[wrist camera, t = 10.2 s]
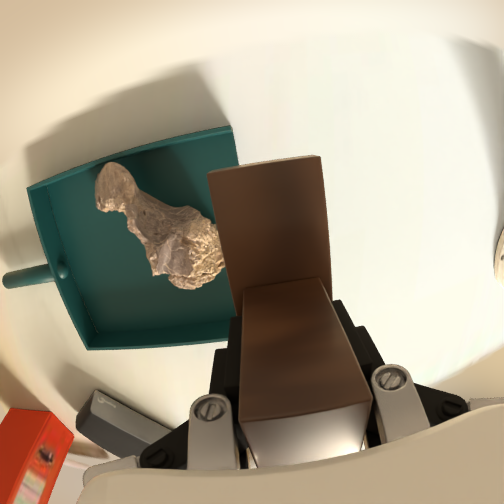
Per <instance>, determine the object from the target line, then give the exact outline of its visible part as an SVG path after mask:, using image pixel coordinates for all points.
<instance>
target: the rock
mask: <svg viewBox="0 0 504 504" xmlns="http://www.w3.org/2000/svg"><path fill="white" fill-rule="evenodd" d="M95 199H96V207H97V208H98V209H100V210H101V211H104V212H108V211H109V210H110V211H114V210H115V211H116V210H117V211H118V212H124V214H125V215H126V216H127V227H128V230H129V231H130V232H133V233H134V234H135V235H136V236H137V237H138V238H139V239H140V240H141V243H142V244H144V246H145V248H146V257H147V259H148V260H149V262H150V264H151V269H152V275H153V276H155V275H160V274H162V273H163V274H164V273H166V274H170V276H169V277H168V280H170V281H171V283H173V285H175V286H177V287H179V288H183V289H190V290H191V289H195V288H196V287H201V286H202V284H203V283H206V282H210V281H211V280H214V278H215V276H216V274H218V273H219V272H221V269H222V268H224V267H225V265H224V264H225V263H224V258H223V253H222V249H221V244H220V239H219V235H218V230H216V224H214V225H213V224H211V220H210V219H207V218H204V217H203V216H202V215H201V214H200V211H198V210H196V209H194V208H192V207H190V206H188V205H187V206H183V207H172V206H169V205H167V204H165V203H163V202H161V201H159V200H157V199H156V198H154V197H152V196H150V195H149V194H147V193H145V192H143V191H142V190H140V189H139V188H138V187H137V185H136V182H135V180H134V178H133V177H132V175H131V174H130V173H129V171H128V170H127V169H125V167H123V166H122V165H120V164H118V163H115V162H108V163H107V164H105V165H104V167H103V168H102V170H101V172H100V173H99V174H98V175H97V179H96V181H95Z"/></svg>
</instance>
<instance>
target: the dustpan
mask: <svg viewBox="0 0 504 504" xmlns="http://www.w3.org/2000/svg"><path fill="white" fill-rule="evenodd" d="M108 162H115V163H118V164H120V165H122V166H123V167H125V169H127V170H128V171H129V173H130V174H131V175H132V177H133V178H134V180H135V182H136V185H137V187H138V188H139V189H140V190H142V191H143V192H145V193H147V194H149V195H150V196H152V197H154V198H156V199H157V200H159V201H161V202H163V203H165V204H167V205H169V206H172V207H183V206H187V205H188V206H190V207H192V208H194V209H196V210H198V211H200V214H201V215H202V216H203V217H204V218H207V219H210V220H211V224H213V225H214V224H216V220H215V215H214V211H213V206H212V201H211V196H210V191H209V186H208V180H207V173H209V172H210V171H212V170H217V169H222V168H227V167H233V166H239V163H238V158H237V152H236V146H235V140H234V135H233V129H232V127H231V126H230V125H229V126H224V127H218V128H213V129H208V130H203V131H199V132H194V133H190V134H185V135H181V136H177V137H173V138H169V139H165V140H161V141H157V142H153V143H149V144H146V145H142V146H139V147H135V148H132V149H129V150H125V151H122V152H119V153H116V154H113V155H109V156H106V157H103V158H100V159H98V160H95V161H92V162H89V163H86V164H83V165H81V166H78V167H75V168H73V169H70V170H67V171H65V172H62V173H60V174H57V175H55V176H53V177H50V178H48V179H45V180H43V181H41V182H38V183H36V184H34V185H32V186H30V187H27V188H26V189H27V193H28V197H29V202H30V206H31V210H32V213H33V217H34V221H35V224H36V228H37V231H38V234H39V238H40V241H41V244H42V247H43V250H44V253H45V256H46V259H47V262H48V264H44V265H39V266H35V267H31V268H26V269H22V270H17V271H13V272H9V273H6V274H5V275H4V276H3V279H2V282H3V285H4V286H5V287H6V288H8V289H11V288H17V287H23V286H29V285H35V284H41V283H47V282H53V281H55V283H56V285H57V288H58V290H59V293H60V295H61V297H62V300H63V302H64V304H65V307H66V309H67V311H68V313H69V315H70V317H71V320H72V322H73V324H74V326H75V328H76V330H77V332H78V334H79V336H80V338H81V340H82V342H83V344H84V345H85V347H86V349H87V350H121V349H142V348H158V347H171V346H183V345H194V344H204V343H213V342H222V341H228V335H229V326H230V317H234V316H236V312H235V307H234V303H233V299H232V294H231V290H230V285H229V281H228V276H227V272H226V267H224V268H222V269H221V272H219V273H218V274H216V276H215V278H214V280H211V281H210V282H206V283H203V284H202V286H201V287H196V288H195V289H191V290H190V289H183V288H179V287H177V286H175V285H173V283H171V281H170V280H168V277H169V276H170V274H166V273H164V274H163V273H162V274H160V275H155V276H153V275H152V269H151V264H150V262H149V260H148V259H147V257H146V248H145V246H144V244H142V243H141V240H140V239H139V238H138V237H137V236H136V235H135V234H134V233H133V232H130V231H129V230H128V227H127V216H126V215H125V214H124V212H118V211H117V210H116V211H115V210H114V211H110V210H109V211H108V212H104V211H101V210H100V209H98V208H97V207H96V199H95V181H96V179H97V175H98V174H99V173H100V172H101V170H102V168H103V167H104V165H105V164H107V163H108ZM46 185H47V186H46ZM47 190H48V191H47ZM48 194H49V195H48ZM49 198H50V199H49ZM50 202H51V203H50ZM51 206H52V207H51ZM52 210H53V211H52ZM53 214H54V215H53ZM54 217H55V218H54ZM55 221H56V222H55ZM56 225H57V226H56ZM57 228H58V229H57ZM216 230H217V225H216ZM58 231H59V232H58ZM59 235H60V236H59ZM60 238H61V239H60ZM61 241H62V242H61ZM62 244H63V245H62ZM63 247H64V248H63ZM64 250H65V251H64ZM65 253H66V254H65ZM66 256H67V257H66ZM67 259H68V260H67ZM68 262H69V263H68ZM69 265H70V266H69ZM224 265H225V264H224ZM71 270H72V271H71ZM72 273H73V274H72ZM73 276H74V277H73ZM74 278H75V279H74ZM75 281H76V282H75ZM77 286H78V287H77ZM79 291H80V292H79ZM81 296H82V297H81ZM82 298H83V299H82ZM84 303H85V304H84ZM87 310H88V311H87ZM88 312H89V313H88ZM91 319H92V320H91ZM92 321H93V322H92ZM93 323H94V324H93Z"/></svg>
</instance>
